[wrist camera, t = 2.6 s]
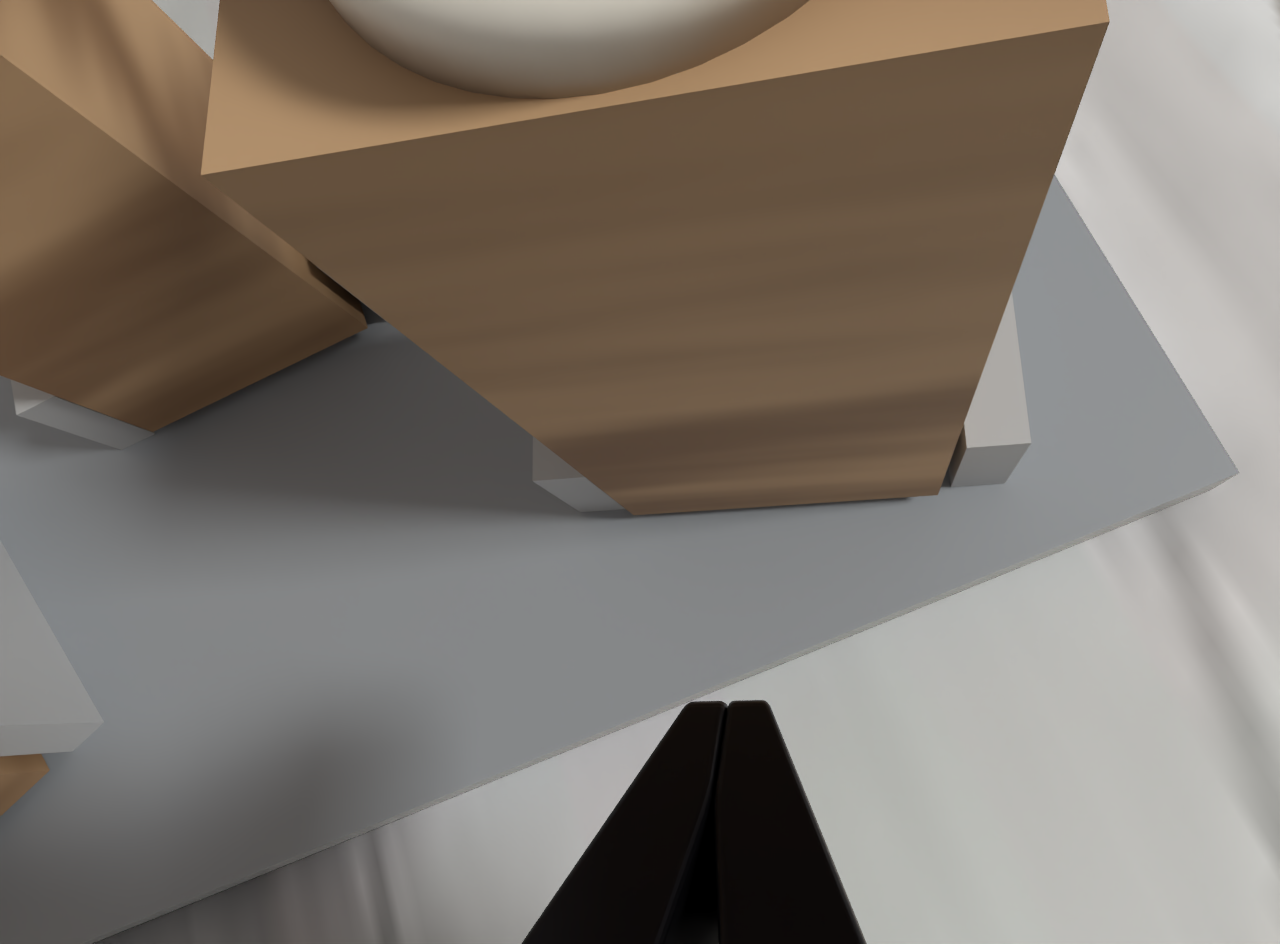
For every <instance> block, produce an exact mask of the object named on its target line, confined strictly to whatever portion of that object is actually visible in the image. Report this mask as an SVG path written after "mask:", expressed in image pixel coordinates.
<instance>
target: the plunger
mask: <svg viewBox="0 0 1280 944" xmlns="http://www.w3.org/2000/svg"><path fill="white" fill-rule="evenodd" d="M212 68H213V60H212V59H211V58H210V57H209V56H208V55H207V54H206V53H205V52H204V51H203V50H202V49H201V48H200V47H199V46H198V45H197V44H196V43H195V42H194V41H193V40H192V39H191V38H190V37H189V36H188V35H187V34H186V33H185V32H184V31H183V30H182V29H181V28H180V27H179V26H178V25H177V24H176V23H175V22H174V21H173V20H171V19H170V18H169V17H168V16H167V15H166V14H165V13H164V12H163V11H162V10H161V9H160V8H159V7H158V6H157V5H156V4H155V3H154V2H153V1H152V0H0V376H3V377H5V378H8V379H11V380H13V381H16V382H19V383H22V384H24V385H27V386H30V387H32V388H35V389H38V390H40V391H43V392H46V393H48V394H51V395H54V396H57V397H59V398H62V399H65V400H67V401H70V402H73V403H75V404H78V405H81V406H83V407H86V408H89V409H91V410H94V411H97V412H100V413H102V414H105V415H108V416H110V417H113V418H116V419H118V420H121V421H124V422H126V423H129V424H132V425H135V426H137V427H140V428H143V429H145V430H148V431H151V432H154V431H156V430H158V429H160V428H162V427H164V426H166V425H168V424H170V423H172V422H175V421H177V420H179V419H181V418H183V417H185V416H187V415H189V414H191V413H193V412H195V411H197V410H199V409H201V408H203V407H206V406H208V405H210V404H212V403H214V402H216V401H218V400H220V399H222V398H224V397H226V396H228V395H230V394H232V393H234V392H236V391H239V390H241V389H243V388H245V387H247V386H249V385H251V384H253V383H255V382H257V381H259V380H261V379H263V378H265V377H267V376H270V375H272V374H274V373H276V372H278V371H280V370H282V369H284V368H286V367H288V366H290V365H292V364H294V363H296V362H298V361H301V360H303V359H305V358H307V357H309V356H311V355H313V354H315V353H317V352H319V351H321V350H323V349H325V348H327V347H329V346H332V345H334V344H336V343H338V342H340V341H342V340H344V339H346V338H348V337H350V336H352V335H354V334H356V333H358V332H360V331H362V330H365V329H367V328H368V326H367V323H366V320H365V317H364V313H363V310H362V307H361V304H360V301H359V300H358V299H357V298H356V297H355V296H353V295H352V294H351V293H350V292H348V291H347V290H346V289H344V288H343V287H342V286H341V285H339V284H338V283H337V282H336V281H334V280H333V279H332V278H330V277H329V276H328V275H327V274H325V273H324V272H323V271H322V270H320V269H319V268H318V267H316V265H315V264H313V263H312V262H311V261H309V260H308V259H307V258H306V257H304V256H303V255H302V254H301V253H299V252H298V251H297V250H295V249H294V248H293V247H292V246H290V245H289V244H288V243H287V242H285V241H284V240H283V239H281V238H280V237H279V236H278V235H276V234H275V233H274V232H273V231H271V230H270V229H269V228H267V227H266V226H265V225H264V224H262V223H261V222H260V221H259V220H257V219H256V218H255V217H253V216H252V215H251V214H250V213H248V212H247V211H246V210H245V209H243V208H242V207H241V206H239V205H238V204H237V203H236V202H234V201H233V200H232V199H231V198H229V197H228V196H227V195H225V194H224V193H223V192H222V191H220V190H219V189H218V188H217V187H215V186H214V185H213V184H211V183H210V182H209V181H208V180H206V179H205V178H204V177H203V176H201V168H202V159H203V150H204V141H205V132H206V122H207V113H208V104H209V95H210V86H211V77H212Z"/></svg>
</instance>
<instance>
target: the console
mask: <svg viewBox="0 0 1280 944" xmlns="http://www.w3.org/2000/svg"><path fill="white" fill-rule="evenodd" d="M316 267H317V266H316ZM319 269H320V268H319ZM320 270H321V269H320ZM324 273H325V272H324ZM325 274H326V273H325ZM328 276H329V275H328ZM329 277H330V276H329ZM330 278H331V277H330ZM333 280H334V279H333ZM334 281H335V280H334ZM338 284H339V283H338ZM339 285H340V284H339ZM342 287H343V286H342ZM343 288H344V287H343ZM344 289H345V288H344ZM347 291H348V290H347ZM348 292H349V291H348ZM352 295H353V294H352ZM353 296H354V295H353ZM356 298H357V297H356ZM357 299H358V298H357ZM358 300H359V299H358ZM359 301H360V300H359ZM360 304H361V307H362V310H363V313H364V317H365V320H366V323H367V326H368V328H367V329H365V330H362V331H360V332H358V333H356V334H354V335H352V336H350V337H348V338H346V339H344V340H342V341H340V342H338V343H336V344H334V345H332V346H329V347H327V348H325V349H323V350H321V351H319V352H317V353H315V354H313V355H311V356H309V357H307V358H305V359H303V360H301V361H298V362H296V363H294V364H292V365H290V366H288V367H286V368H284V369H282V370H280V371H278V372H276V373H274V374H272V375H270V376H267V377H265V378H263V379H261V380H259V381H257V382H255V383H253V384H251V385H249V386H247V387H245V388H243V389H241V390H239V391H236V392H234V393H232V394H230V395H228V396H226V397H224V398H222V399H220V400H218V401H216V402H214V403H212V404H210V405H208V406H206V407H203V408H201V409H199V410H197V411H195V412H193V413H191V414H189V415H187V416H185V417H183V418H181V419H179V420H177V421H175V422H172V423H170V424H168V425H166V426H164V427H162V428H160V429H158V430H156V431H154V432H151V431H148V430H145V429H143V428H140V427H137V426H135V425H132V424H129V423H126V422H124V421H121V420H118V419H116V418H113V417H110V416H108V415H105V414H102V413H100V412H97V411H94V410H91V409H89V408H86V407H83V406H81V405H78V404H75V403H73V402H70V401H67V400H65V399H62V398H59V397H57V396H54V395H51V394H48V393H46V392H43V391H40V390H38V389H35V388H32V387H30V386H27V385H24V384H22V383H19V382H16V381H13V380H11V379H8V378H5V377H3V376H0V756H13V755H28V754H42V756H43V758H44V760H45V762H46V764H47V766H48V768H49V769H50V771H49V772H48V773H46V774H45V775H44V776H43V777H42V778H41V779H40V780H39V781H38V782H37V783H36V784H35V785H34V786H33V787H31V788H30V789H29V790H28V791H27V792H26V793H25V794H24V795H23V796H22V797H21V798H20V799H19V800H18V801H16V802H15V803H14V804H13V805H12V806H11V807H10V808H9V809H8V810H7V811H6V812H5V813H4V814H3V815H1V816H0V944H93V943H95V942H98V941H100V940H102V939H105V938H107V937H110V936H112V935H115V934H117V933H120V932H122V931H125V930H127V929H130V928H132V927H134V926H137V925H139V924H142V923H144V922H147V921H149V920H152V919H154V918H157V917H159V916H162V915H164V914H167V913H169V912H171V911H174V910H176V909H179V908H181V907H184V906H186V905H189V904H191V903H194V902H196V901H199V900H201V899H204V898H206V897H208V896H211V895H213V894H216V893H218V892H221V891H223V890H226V889H228V888H231V887H233V886H236V885H238V884H241V883H243V882H245V881H248V880H250V879H253V878H255V877H258V876H260V875H263V874H265V873H268V872H270V871H273V870H275V869H278V868H280V867H282V866H285V865H287V864H290V863H292V862H295V861H297V860H300V859H302V858H305V857H307V856H310V855H312V854H314V853H317V852H319V851H322V850H324V849H327V848H329V847H332V846H334V845H337V844H339V843H342V842H344V841H347V840H349V839H351V838H354V837H356V836H359V835H361V834H364V833H366V832H369V831H371V830H374V829H376V828H379V827H381V826H384V825H386V824H388V823H391V822H393V821H396V820H398V819H401V818H403V817H406V816H408V815H411V814H413V813H416V812H418V811H421V810H423V809H425V808H428V807H430V806H433V805H435V804H438V803H440V802H443V801H445V800H448V799H450V798H453V797H455V796H457V795H460V794H462V793H465V792H467V791H470V790H472V789H475V788H477V787H480V786H482V785H485V784H487V783H490V782H492V781H494V780H497V779H499V778H502V777H504V776H507V775H509V774H512V773H514V772H517V771H519V770H522V769H524V768H527V767H529V766H531V765H534V764H536V763H539V762H541V761H544V760H546V759H549V758H551V757H554V756H556V755H559V754H561V753H564V752H566V751H568V750H571V749H573V748H576V747H578V746H581V745H583V744H586V743H588V742H591V741H593V740H596V739H598V738H601V737H603V736H605V735H608V734H610V733H613V732H615V731H618V730H620V729H623V728H625V727H628V726H630V725H633V724H635V723H637V722H640V721H642V720H645V719H647V718H650V717H652V716H655V715H657V714H660V713H662V712H665V711H667V710H670V709H672V708H674V707H677V706H679V705H682V704H684V703H687V702H689V701H692V700H694V699H697V698H699V697H702V696H704V695H707V694H709V693H711V692H714V691H716V690H719V689H721V688H724V687H726V686H729V685H731V684H734V683H736V682H739V681H741V680H744V679H746V678H748V677H751V676H753V675H756V674H758V673H761V672H763V671H766V670H768V669H771V668H773V667H776V666H778V665H781V664H783V663H785V662H788V661H790V660H793V659H795V658H798V657H800V656H803V655H805V654H808V653H810V652H813V651H815V650H817V649H820V648H822V647H825V646H827V645H830V644H832V643H835V642H837V641H840V640H842V639H845V638H847V637H850V636H852V635H854V634H857V633H859V632H862V631H864V630H867V629H869V628H872V627H874V626H877V625H879V624H882V623H884V622H887V621H889V620H891V619H894V618H896V617H899V616H901V615H904V614H906V613H909V612H911V611H914V610H916V609H919V608H921V607H924V606H926V605H928V604H931V603H933V602H936V601H938V600H941V599H943V598H946V597H948V596H951V595H953V594H956V593H958V592H961V591H963V590H965V589H968V588H970V587H973V586H975V585H978V584H980V583H983V582H985V581H988V580H990V579H993V578H995V577H997V576H1000V575H1002V574H1005V573H1007V572H1010V571H1012V570H1015V569H1017V568H1020V567H1022V566H1025V565H1027V564H1030V563H1032V562H1034V561H1037V560H1039V559H1042V558H1044V557H1047V556H1049V555H1052V554H1054V553H1057V552H1059V551H1062V550H1064V549H1067V548H1069V547H1071V546H1074V545H1076V544H1079V543H1081V542H1084V541H1086V540H1089V539H1091V538H1094V537H1096V536H1099V535H1101V534H1104V533H1106V532H1108V531H1111V530H1113V529H1116V528H1118V527H1121V526H1123V525H1126V524H1128V523H1131V522H1133V521H1136V520H1138V519H1140V518H1143V517H1145V516H1148V515H1150V514H1153V513H1155V512H1158V511H1160V510H1163V509H1165V508H1168V507H1170V506H1173V505H1175V504H1177V503H1180V502H1182V501H1185V500H1187V499H1190V498H1192V497H1195V496H1197V495H1200V494H1202V493H1205V492H1207V491H1210V490H1211V489H1213V488H1215V487H1217V486H1218V485H1220V484H1222V483H1223V482H1225V481H1227V480H1228V479H1230V478H1232V477H1233V476H1235V475H1237V474H1238V473H1239V471H1238V469H1237V468H1236V466H1235V465H1234V463H1233V461H1232V460H1231V458H1230V457H1229V455H1228V453H1227V452H1226V450H1225V449H1224V447H1223V445H1222V444H1221V442H1220V440H1219V439H1218V437H1217V436H1216V434H1215V432H1214V431H1213V429H1212V428H1211V426H1210V424H1209V423H1208V421H1207V420H1206V418H1205V416H1204V415H1203V413H1202V411H1201V410H1200V408H1199V407H1198V405H1197V403H1196V402H1195V400H1194V399H1193V397H1192V395H1191V394H1190V392H1189V391H1188V389H1187V387H1186V386H1185V384H1184V382H1183V381H1182V379H1181V378H1180V376H1179V374H1178V373H1177V371H1176V370H1175V368H1174V366H1173V365H1172V363H1171V362H1170V360H1169V358H1168V357H1167V355H1166V354H1165V352H1164V350H1163V349H1162V347H1161V345H1160V344H1159V342H1158V341H1157V339H1156V337H1155V336H1154V334H1153V333H1152V331H1151V329H1150V328H1149V326H1148V325H1147V323H1146V321H1145V320H1144V318H1143V316H1142V315H1141V313H1140V312H1139V310H1138V308H1137V307H1136V305H1135V304H1134V302H1133V300H1132V299H1131V297H1130V296H1129V294H1128V292H1127V291H1126V289H1125V287H1124V286H1123V284H1122V283H1121V281H1120V279H1119V278H1118V276H1117V275H1116V273H1115V271H1114V270H1113V268H1112V267H1111V265H1110V263H1109V262H1108V260H1107V258H1106V257H1105V255H1104V254H1103V252H1102V250H1101V249H1100V247H1099V246H1098V244H1097V242H1096V241H1095V239H1094V238H1093V236H1092V234H1091V233H1090V231H1089V229H1088V228H1087V226H1086V225H1085V223H1084V221H1083V220H1082V218H1081V217H1080V215H1079V213H1078V212H1077V210H1076V209H1075V207H1074V205H1073V204H1072V202H1071V200H1070V199H1069V197H1068V196H1067V194H1066V192H1065V191H1064V189H1063V188H1062V186H1061V184H1060V183H1059V181H1058V180H1057V178H1056V176H1055V175H1054V176H1053V179H1052V182H1051V184H1050V187H1049V190H1048V193H1047V195H1046V198H1045V201H1044V204H1043V207H1042V209H1041V212H1040V215H1039V218H1038V220H1037V223H1036V226H1035V229H1034V231H1033V234H1032V237H1031V240H1030V242H1029V245H1028V248H1027V251H1026V253H1025V256H1024V259H1023V262H1022V264H1021V267H1020V270H1019V273H1018V275H1017V278H1016V281H1015V284H1014V286H1013V289H1012V292H1011V295H1010V298H1009V300H1008V303H1007V306H1006V309H1005V311H1004V314H1003V317H1002V320H1001V322H1000V325H999V328H998V331H997V333H996V336H995V339H994V342H993V344H992V347H991V350H990V353H989V355H988V358H987V361H986V364H985V366H984V369H983V372H982V375H981V378H980V380H979V383H978V386H977V389H976V391H975V394H974V397H973V400H972V402H971V405H970V408H969V411H968V413H967V416H966V419H965V422H964V424H963V427H962V430H961V433H960V435H959V438H958V441H957V444H956V446H955V449H954V452H953V455H952V458H951V460H950V463H949V466H948V469H947V471H946V474H945V477H944V480H943V482H942V485H941V488H940V491H939V493H938V495H933V496H918V497H903V498H888V499H873V500H857V501H842V502H827V503H812V504H797V505H782V506H767V507H752V508H736V509H721V510H706V511H691V512H676V513H661V514H646V515H633V514H631V513H630V512H629V511H627V510H626V509H625V508H624V507H622V506H621V505H620V504H619V503H617V502H616V501H615V500H613V499H612V498H611V497H610V496H608V495H607V494H606V493H605V492H603V491H602V490H601V489H600V488H598V487H597V486H596V485H594V484H593V483H592V482H591V481H589V480H588V479H587V478H586V477H584V476H583V475H582V474H580V473H579V472H578V471H577V470H575V469H574V468H573V467H572V466H570V465H569V464H568V463H566V462H565V461H564V460H563V459H561V458H560V457H559V456H558V455H556V454H555V453H554V452H552V451H551V450H550V449H549V448H547V447H546V446H545V445H544V444H542V443H541V442H540V441H538V440H537V439H536V438H535V437H533V436H532V435H531V434H530V433H528V432H527V431H526V430H524V429H523V428H522V427H521V426H519V425H518V424H517V423H516V422H514V421H513V420H512V419H510V418H509V417H508V416H507V415H505V414H504V413H503V412H502V411H500V410H499V409H498V408H496V407H495V406H494V405H493V404H491V403H490V402H489V401H488V400H486V399H485V398H484V397H482V396H481V395H480V394H479V393H477V392H476V391H475V390H474V389H472V388H471V387H470V386H468V385H467V384H466V383H465V382H463V381H462V380H461V379H460V378H458V377H457V376H456V375H454V374H453V373H452V372H451V371H449V370H448V369H447V368H446V367H444V366H443V365H442V364H440V363H439V362H438V361H437V360H435V359H434V358H433V357H432V356H430V355H429V354H428V353H426V352H425V351H424V350H423V349H421V348H420V347H419V346H418V345H416V344H415V343H414V342H412V341H411V340H410V339H409V338H407V337H406V336H405V335H404V334H402V333H401V332H400V331H398V330H397V329H396V328H395V327H393V326H392V325H391V324H390V323H388V322H387V321H386V320H384V319H383V318H382V317H381V316H379V315H378V314H377V313H376V312H374V311H373V310H372V309H371V308H369V307H368V306H367V305H365V304H364V303H363V302H362V301H360Z"/></svg>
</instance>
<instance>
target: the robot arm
mask: <svg viewBox="0 0 1280 944" xmlns="http://www.w3.org/2000/svg"><path fill="white" fill-rule="evenodd" d="M522 944H866V941H865V939H864V936H863V934H862V931H861V929H860V926H859V924H858V921H857V919H856V916H855V914H854V912H853V909H852V907H851V904H850V902H849V899H848V897H847V894H846V892H845V889H844V887H843V884H842V882H841V880H840V877H839V875H838V872H837V870H836V867H835V865H834V862H833V860H832V857H831V855H830V852H829V850H828V848H827V845H826V843H825V840H824V838H823V835H822V833H821V830H820V828H819V825H818V823H817V820H816V818H815V816H814V813H813V811H812V808H811V806H810V803H809V801H808V798H807V796H806V793H805V791H804V789H803V786H802V784H801V781H800V779H799V776H798V774H797V771H796V769H795V766H794V764H793V761H792V759H791V757H790V754H789V752H788V749H787V747H786V744H785V742H784V739H783V737H782V734H781V732H780V729H779V727H778V725H777V722H776V720H775V717H774V715H773V712H772V710H771V707H770V705H769V704H768V703H767V702H766V701H763V700H752V701H732V702H731V703H730V704H729V706H727V704H726V703H724V702H722V701H700V702H690V703H688V704H687V705H686V706H685V707H684V708H683V710H682V711H681V712H680V714H679V715H678V717H677V718H676V720H675V721H674V723H673V724H672V726H671V727H670V728H669V730H668V731H667V733H666V734H665V736H664V737H663V739H662V740H661V742H660V743H659V744H658V746H657V747H656V749H655V750H654V752H653V753H652V755H651V756H650V758H649V759H648V760H647V762H646V763H645V765H644V766H643V768H642V769H641V771H640V772H639V774H638V775H637V776H636V778H635V779H634V781H633V782H632V784H631V785H630V787H629V788H628V790H627V791H626V792H625V794H624V795H623V797H622V798H621V800H620V801H619V803H618V804H617V806H616V807H615V808H614V810H613V811H612V813H611V814H610V816H609V817H608V819H607V820H606V822H605V823H604V824H603V826H602V827H601V829H600V830H599V832H598V833H597V835H596V836H595V838H594V839H593V840H592V842H591V843H590V845H589V846H588V848H587V849H586V851H585V852H584V854H583V855H582V856H581V858H580V859H579V861H578V862H577V864H576V865H575V867H574V868H573V870H572V871H571V872H570V874H569V875H568V877H567V878H566V880H565V881H564V883H563V884H562V886H561V887H560V888H559V890H558V891H557V893H556V894H555V896H554V897H553V899H552V900H551V902H550V903H549V904H548V906H547V907H546V909H545V910H544V912H543V913H542V915H541V916H540V918H539V919H538V920H537V922H536V923H535V925H534V926H533V928H532V929H531V931H530V932H529V934H528V935H527V936H526V938H525V939H524V941H523V942H522Z"/></svg>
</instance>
